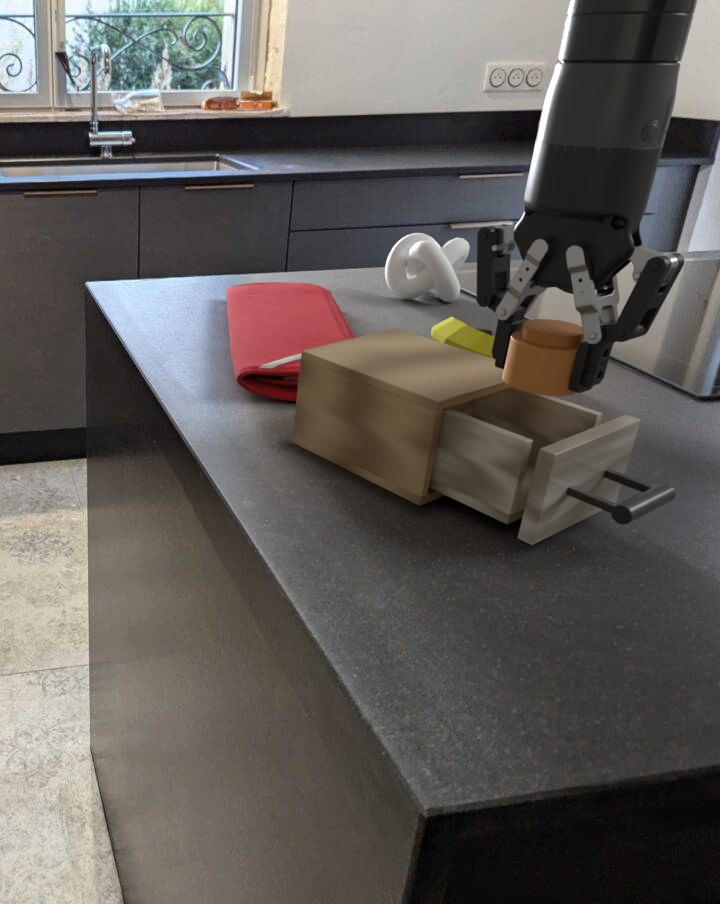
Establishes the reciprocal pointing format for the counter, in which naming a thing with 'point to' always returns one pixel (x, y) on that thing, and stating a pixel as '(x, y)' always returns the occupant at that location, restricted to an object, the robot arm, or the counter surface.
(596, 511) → the drawer
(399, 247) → the white knot sculpture
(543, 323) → the orange lidded jar
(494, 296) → the robot arm
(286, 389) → the dish drying mat
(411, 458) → the cabinet
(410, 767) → the counter surface
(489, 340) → the banana
